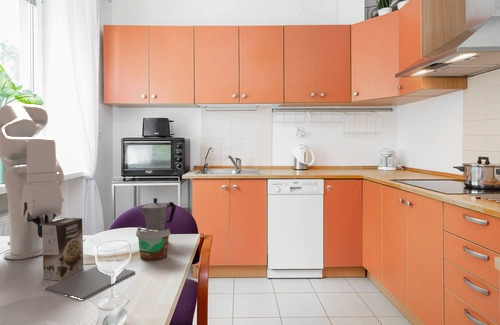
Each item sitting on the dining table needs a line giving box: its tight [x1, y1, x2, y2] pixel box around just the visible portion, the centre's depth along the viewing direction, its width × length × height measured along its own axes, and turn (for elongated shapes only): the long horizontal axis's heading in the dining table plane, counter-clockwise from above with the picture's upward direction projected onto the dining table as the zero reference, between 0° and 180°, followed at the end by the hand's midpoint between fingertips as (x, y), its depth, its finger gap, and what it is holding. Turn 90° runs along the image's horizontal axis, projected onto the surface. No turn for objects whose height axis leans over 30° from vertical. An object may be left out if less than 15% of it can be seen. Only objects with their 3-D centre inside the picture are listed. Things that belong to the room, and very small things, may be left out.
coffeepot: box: [138, 197, 177, 231], centre depth 122 cm, size 15×9×18 cm, turn 133°
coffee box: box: [42, 217, 85, 282], centre depth 93 cm, size 9×6×16 cm
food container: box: [135, 226, 171, 262], centre depth 105 cm, size 12×6×10 cm, turn 76°
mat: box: [44, 265, 136, 300], centre depth 88 cm, size 14×18×1 cm
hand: (44, 236), depth 96 cm, fingers closed
